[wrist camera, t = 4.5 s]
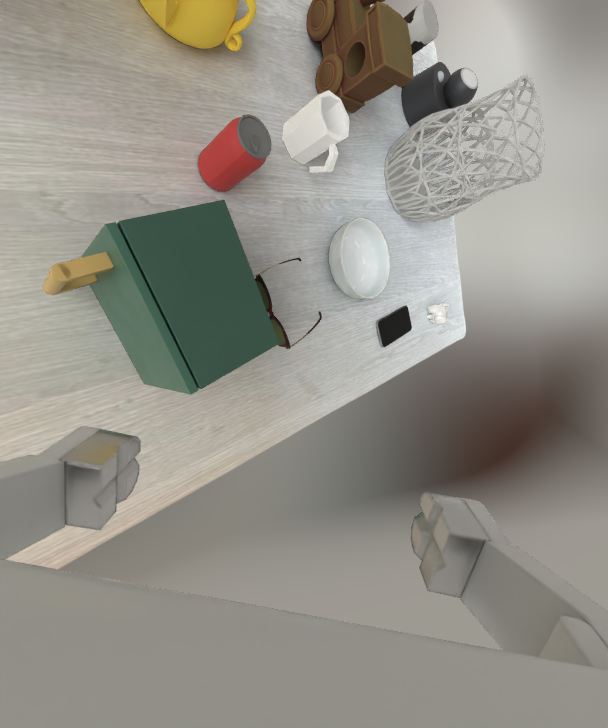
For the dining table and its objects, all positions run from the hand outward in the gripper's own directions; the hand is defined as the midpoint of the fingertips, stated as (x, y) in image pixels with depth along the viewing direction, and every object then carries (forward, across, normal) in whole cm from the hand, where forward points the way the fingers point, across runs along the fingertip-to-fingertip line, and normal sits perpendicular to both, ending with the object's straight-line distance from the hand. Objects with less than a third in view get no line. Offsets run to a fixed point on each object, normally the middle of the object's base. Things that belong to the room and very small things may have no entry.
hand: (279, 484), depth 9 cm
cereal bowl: (+72, -6, -8) cm, 73 cm away
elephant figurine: (+97, -37, +1) cm, 103 cm away
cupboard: (+41, +22, +4) cm, 47 cm away
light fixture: (+104, -18, -55) cm, 119 cm away
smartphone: (+82, -23, +5) cm, 86 cm away
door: (+34, +27, +8) cm, 45 cm away
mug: (+68, +8, -27) cm, 74 cm away
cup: (+92, -4, -56) cm, 107 cm away
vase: (+96, -20, -33) cm, 103 cm away
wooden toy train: (+79, +6, -47) cm, 92 cm away
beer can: (+53, +20, -18) cm, 60 cm away
